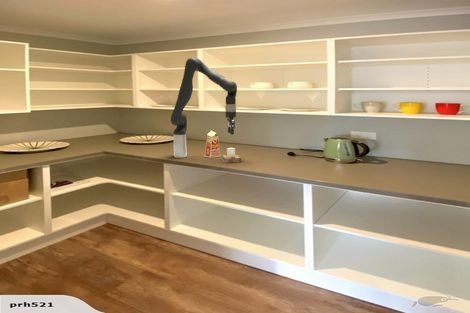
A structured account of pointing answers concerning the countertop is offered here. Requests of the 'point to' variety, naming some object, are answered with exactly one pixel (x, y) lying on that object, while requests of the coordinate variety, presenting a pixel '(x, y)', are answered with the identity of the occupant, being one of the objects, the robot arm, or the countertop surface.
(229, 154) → the cube
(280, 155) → the countertop surface
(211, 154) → the milk carton
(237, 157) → the base
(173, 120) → the robot arm
